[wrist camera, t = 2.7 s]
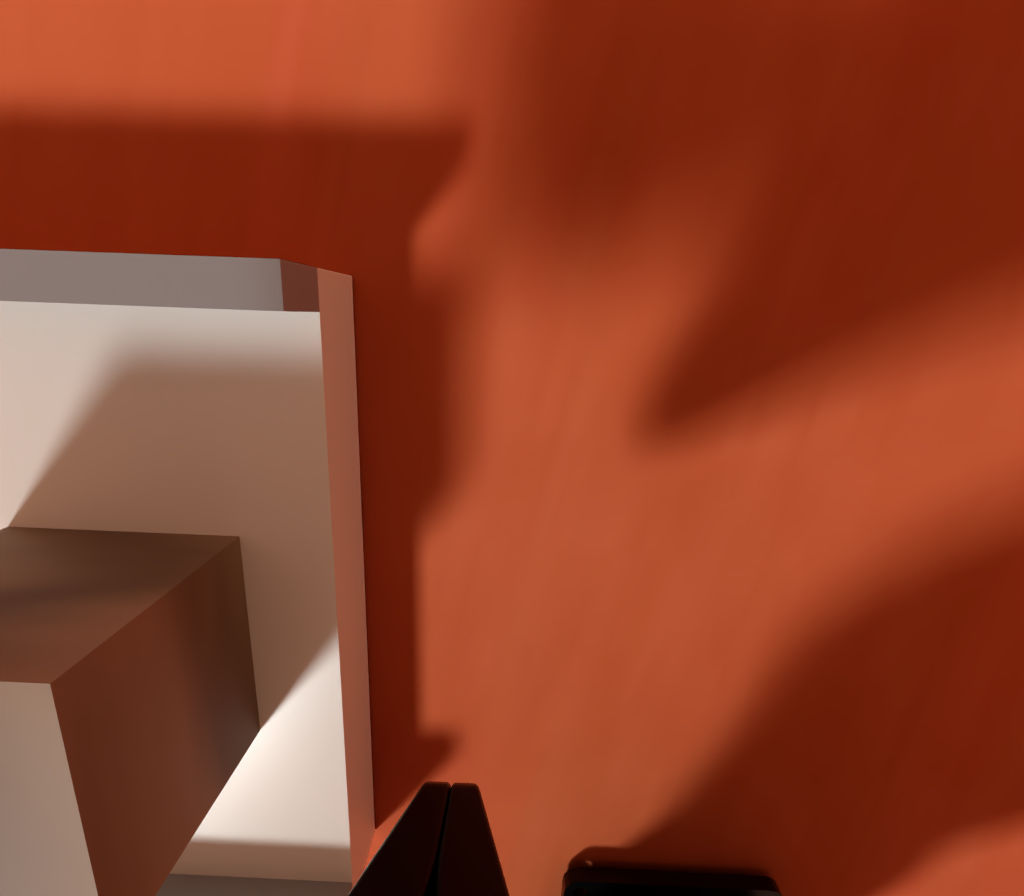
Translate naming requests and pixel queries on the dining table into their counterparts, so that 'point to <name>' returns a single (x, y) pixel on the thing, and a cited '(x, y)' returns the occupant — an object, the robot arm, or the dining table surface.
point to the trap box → (217, 508)
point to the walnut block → (116, 703)
